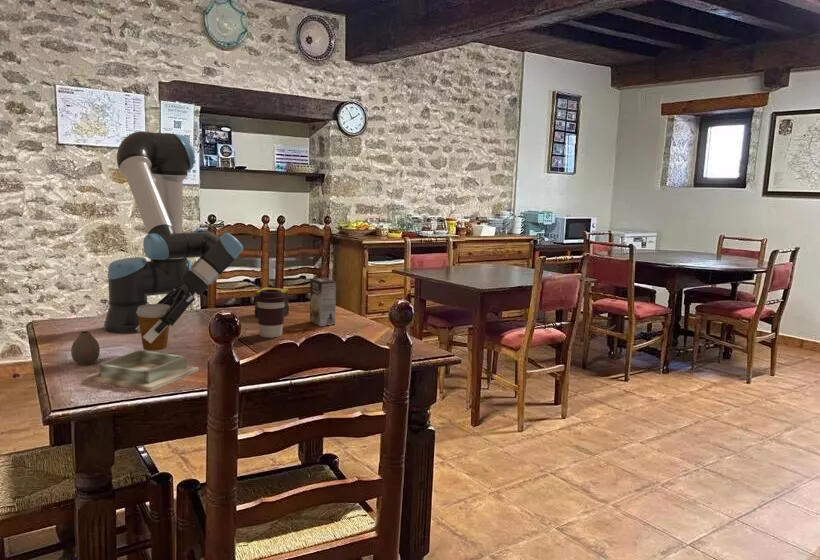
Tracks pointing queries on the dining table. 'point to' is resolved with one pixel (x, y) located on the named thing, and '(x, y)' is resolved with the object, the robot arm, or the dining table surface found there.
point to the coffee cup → (270, 312)
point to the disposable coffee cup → (148, 319)
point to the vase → (85, 349)
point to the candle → (285, 292)
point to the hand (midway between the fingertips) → (142, 336)
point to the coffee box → (322, 301)
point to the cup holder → (143, 370)
